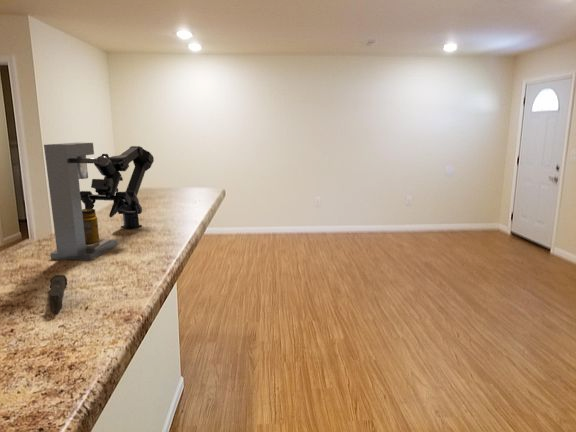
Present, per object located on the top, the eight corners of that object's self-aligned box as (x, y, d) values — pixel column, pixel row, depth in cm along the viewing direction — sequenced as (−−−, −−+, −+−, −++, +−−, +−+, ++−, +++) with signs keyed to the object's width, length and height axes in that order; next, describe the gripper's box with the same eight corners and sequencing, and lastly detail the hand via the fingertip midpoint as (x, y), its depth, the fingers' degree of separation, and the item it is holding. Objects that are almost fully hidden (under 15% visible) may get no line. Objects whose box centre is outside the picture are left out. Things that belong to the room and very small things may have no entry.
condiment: (104, 239, 148) (101, 208, 146) (92, 246, 140) (88, 213, 137) (85, 239, 149) (81, 207, 146) (71, 246, 140) (68, 212, 138)
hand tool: (51, 288, 111) (49, 272, 110) (67, 286, 113) (66, 270, 112) (42, 318, 94) (39, 300, 93) (61, 315, 96) (59, 297, 95)
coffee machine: (81, 243, 152) (70, 142, 144) (139, 245, 151) (131, 142, 142) (48, 260, 133) (33, 144, 125) (113, 262, 132) (102, 145, 123)
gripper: (77, 170, 152) (63, 204, 144) (125, 170, 151) (113, 205, 143) (91, 187, 162) (78, 220, 154) (136, 188, 161) (125, 221, 152)
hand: (98, 216), depth 150 cm, fingers open, 9 cm apart
